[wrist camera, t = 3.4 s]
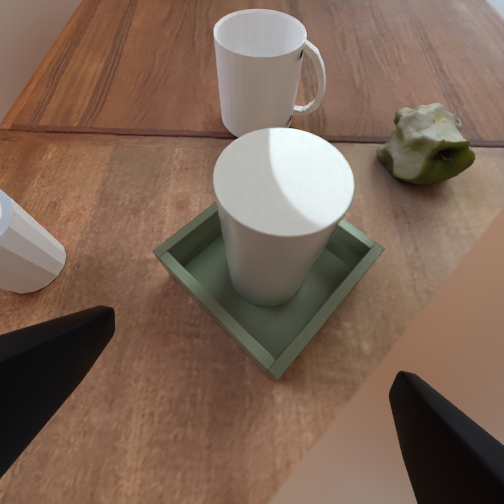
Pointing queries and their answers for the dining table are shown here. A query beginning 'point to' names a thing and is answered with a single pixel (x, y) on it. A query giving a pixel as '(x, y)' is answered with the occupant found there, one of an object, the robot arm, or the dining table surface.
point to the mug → (262, 69)
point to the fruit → (426, 146)
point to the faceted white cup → (26, 250)
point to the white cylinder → (278, 209)
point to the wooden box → (260, 317)
